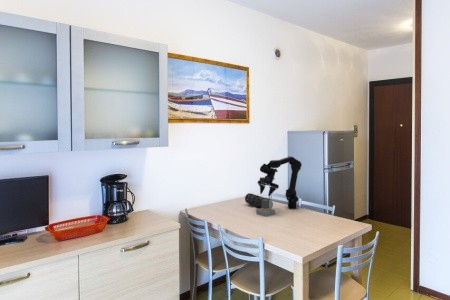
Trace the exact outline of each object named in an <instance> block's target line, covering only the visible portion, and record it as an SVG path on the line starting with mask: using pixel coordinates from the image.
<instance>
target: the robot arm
mask: <svg viewBox="0 0 450 300" xmlns="http://www.w3.org/2000/svg"><path fill="white" fill-rule="evenodd" d="M287 163H289V165H290V169H291V174H290V175H291V177H290V180H289V181H290V182H289V187H288V189H285V192H284V193H285V198H286V200H287V208H288V209H290V210H292V209H295V210H296V209H298V207H297V202H299V197H298V196H297V191H296V187H297V186H296V185H297V181H298V180H297V179H298V174H299V172H300V171H301V168H302V162H301V161H300V160H299V159H297V158H295V157H294V156H287V157H284V158H281V159H274V160H273V159H272V160H270V161H269V162H268V163H263V164H262V165H261V166H260V167H259V171H260V172H261V173H263V174H266V175H265V176H264V177H259V180H258V181H257V184H258V187H259V192H260V193H259V194H260V195H262V194H263V192H264V191H265V189H266V186H268V187H269V190H268V197H270V196H271V195H272V194H273V193H274V192H275V191H276V190H277V189H279V187H280V186H279V184H277V183H274V182H273V181H274V180H275V175H276V173H278V172H279V171H278V169H277V168H280V167H281V166H282V165H286V164H287Z"/></svg>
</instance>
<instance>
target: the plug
mask: <svg viewBox="0 0 450 300" xmlns="http://www.w3.org/2000/svg"><path fill="white" fill-rule="evenodd" d="M262 210H264V211H267V210H269V200H267V199H264V200H262Z"/></svg>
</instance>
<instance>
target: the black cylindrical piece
mask: <svg viewBox="0 0 450 300" xmlns="http://www.w3.org/2000/svg"><path fill="white" fill-rule="evenodd" d="M264 199H267V200H269V208H270V209H273V207H274V202H273V200H272V199H271V198H268V197H263V196H262V195H261V196H260V195H257V194H254V193H251V192H250V193H249V192H248V193H246V195H245V197H244V201H245V203H246V204H248V205H249V206H253V207H255V208H259V209H260V208H262V200H264Z"/></svg>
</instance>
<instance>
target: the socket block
mask: <svg viewBox="0 0 450 300" xmlns="http://www.w3.org/2000/svg"><path fill="white" fill-rule="evenodd" d="M275 212H276V210H275V209H273V208H271V209H270V208H269V210H267V211H264V210H262V208H260V207H259V208H257V209H256V210H255V213H256V215H258V216H262V217H265V218H266V217H270V216H274V215H275V214H276V213H275Z"/></svg>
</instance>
